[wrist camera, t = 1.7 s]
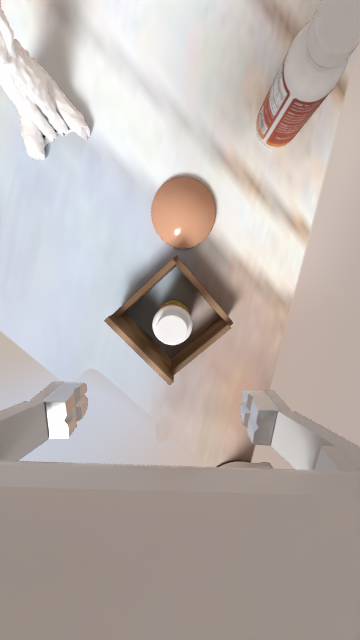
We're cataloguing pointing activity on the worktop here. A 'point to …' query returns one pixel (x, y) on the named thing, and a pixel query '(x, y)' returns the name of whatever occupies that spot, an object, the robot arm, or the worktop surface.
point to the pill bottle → (309, 71)
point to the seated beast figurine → (35, 96)
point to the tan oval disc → (183, 212)
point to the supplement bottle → (172, 323)
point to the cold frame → (148, 346)
